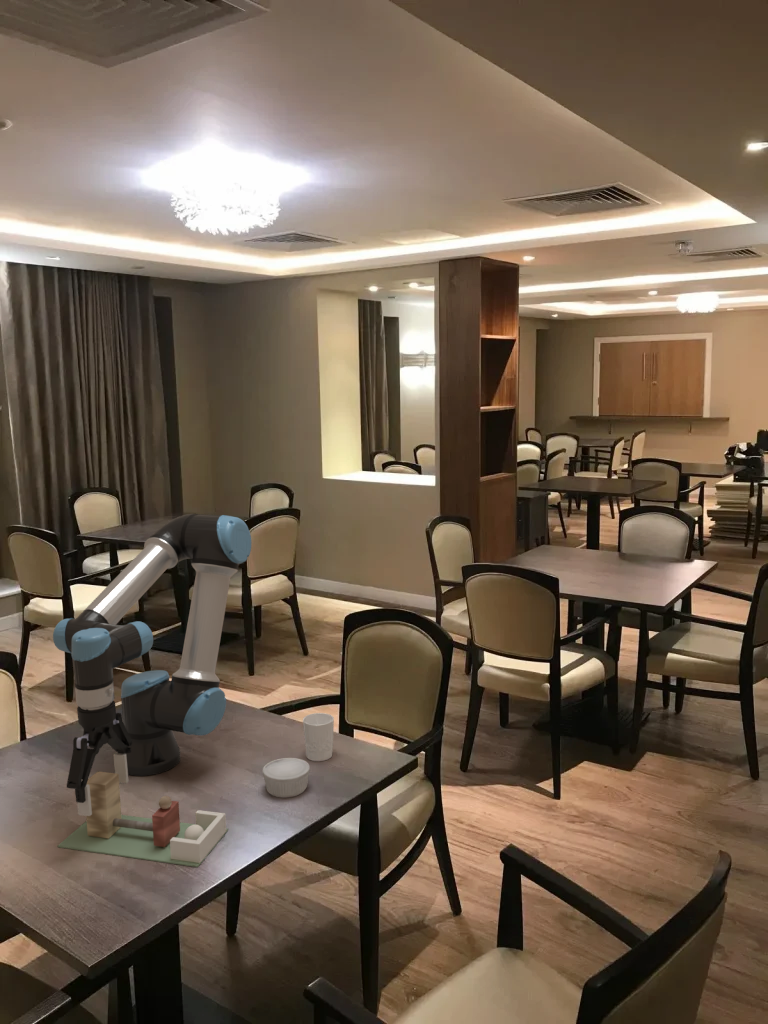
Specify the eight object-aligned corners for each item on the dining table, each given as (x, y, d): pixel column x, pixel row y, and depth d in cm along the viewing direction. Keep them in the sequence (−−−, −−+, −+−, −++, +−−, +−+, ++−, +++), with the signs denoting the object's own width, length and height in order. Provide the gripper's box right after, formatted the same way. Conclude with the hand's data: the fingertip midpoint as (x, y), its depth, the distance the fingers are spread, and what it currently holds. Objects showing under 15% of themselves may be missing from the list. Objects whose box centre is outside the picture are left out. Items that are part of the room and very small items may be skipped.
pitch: (57, 847, 165) (57, 845, 165) (97, 812, 178) (97, 811, 178) (197, 867, 157) (197, 865, 157) (228, 829, 171) (228, 828, 171)
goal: (170, 858, 160) (169, 840, 159) (198, 827, 171) (197, 810, 171) (200, 863, 158) (199, 844, 158) (226, 831, 170) (225, 813, 169)
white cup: (333, 762, 201) (332, 725, 200) (302, 762, 201) (301, 725, 200) (335, 748, 209) (334, 712, 208) (305, 749, 209) (304, 712, 208)
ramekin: (285, 773, 196) (284, 753, 195) (320, 785, 190) (319, 764, 189) (253, 791, 187) (252, 770, 186) (288, 805, 181) (287, 783, 180)
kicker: (85, 837, 167) (81, 783, 166) (103, 821, 174) (99, 769, 172) (165, 848, 163) (161, 793, 161) (180, 831, 169) (177, 778, 167)
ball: (178, 831, 163) (195, 830, 162) (188, 821, 167) (204, 819, 166) (183, 850, 163) (200, 848, 162) (192, 839, 167) (209, 837, 166)
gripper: (75, 730, 153) (84, 831, 157) (144, 682, 177) (150, 771, 180) (41, 727, 155) (51, 827, 158) (114, 679, 179) (121, 767, 182)
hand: (104, 797), depth 169 cm, fingers open, 13 cm apart
